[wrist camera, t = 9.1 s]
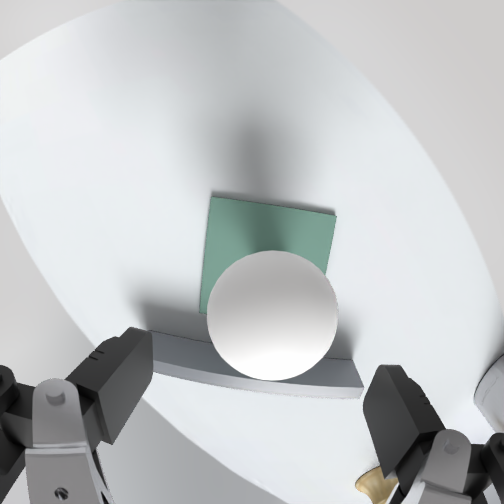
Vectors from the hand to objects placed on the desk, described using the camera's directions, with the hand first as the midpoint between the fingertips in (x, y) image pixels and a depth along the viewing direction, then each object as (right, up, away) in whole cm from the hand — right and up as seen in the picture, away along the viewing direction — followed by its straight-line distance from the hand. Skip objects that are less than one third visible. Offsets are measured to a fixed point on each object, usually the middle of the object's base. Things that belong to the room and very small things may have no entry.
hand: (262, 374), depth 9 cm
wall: (-1, -5, +14) cm, 15 cm away
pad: (+1, +3, +12) cm, 13 cm away
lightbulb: (+1, +3, +12) cm, 13 cm away
